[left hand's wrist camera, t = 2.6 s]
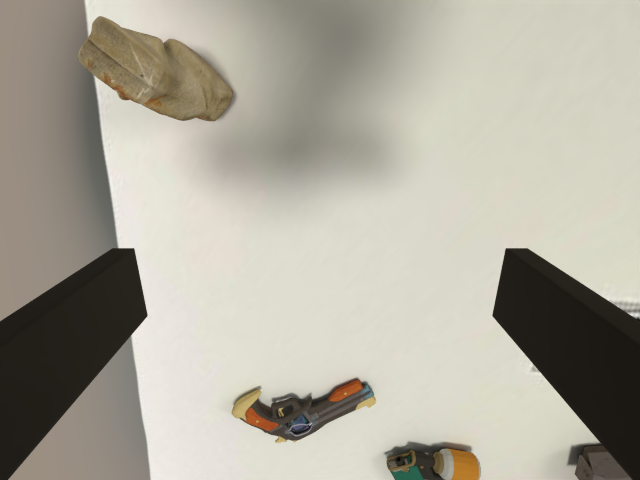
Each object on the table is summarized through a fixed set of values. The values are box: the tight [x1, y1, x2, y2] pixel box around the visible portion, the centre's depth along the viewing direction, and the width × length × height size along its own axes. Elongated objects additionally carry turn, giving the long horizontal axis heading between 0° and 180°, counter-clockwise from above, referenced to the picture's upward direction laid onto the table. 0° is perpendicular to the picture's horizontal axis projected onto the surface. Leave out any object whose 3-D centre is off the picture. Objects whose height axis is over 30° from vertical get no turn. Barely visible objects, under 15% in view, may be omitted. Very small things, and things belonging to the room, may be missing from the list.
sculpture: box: [78, 16, 233, 121], centre depth 29 cm, size 6×7×15 cm
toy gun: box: [232, 380, 376, 443], centre depth 49 cm, size 3×19×10 cm
